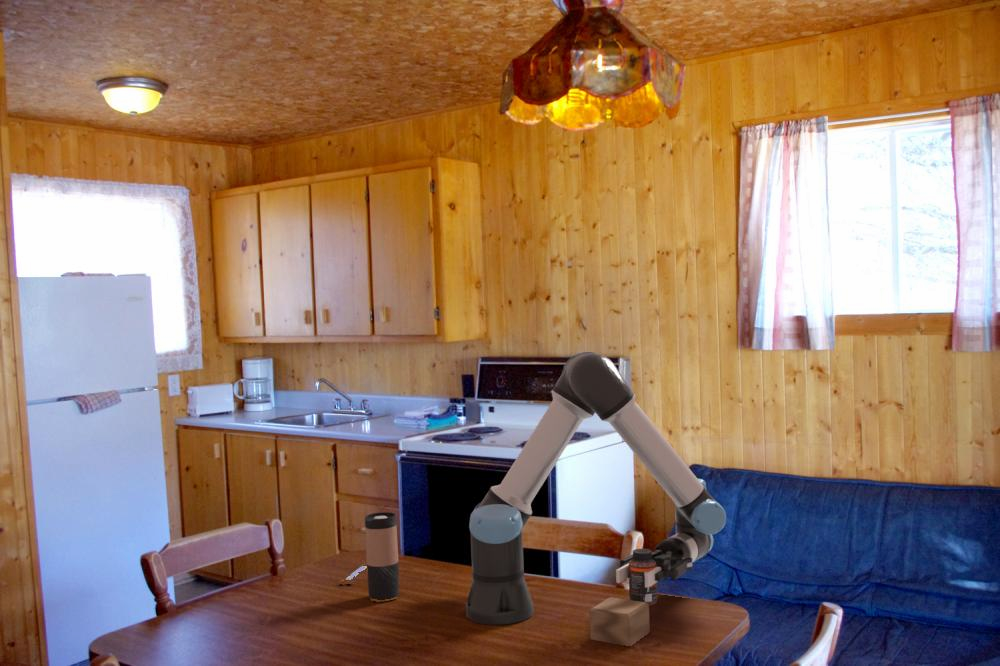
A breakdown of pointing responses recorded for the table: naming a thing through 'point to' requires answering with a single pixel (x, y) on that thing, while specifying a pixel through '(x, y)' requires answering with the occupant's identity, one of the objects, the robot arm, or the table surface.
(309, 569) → the table surface
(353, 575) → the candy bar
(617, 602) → the light wooden box
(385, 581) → the travel mug
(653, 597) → the supplement bottle
